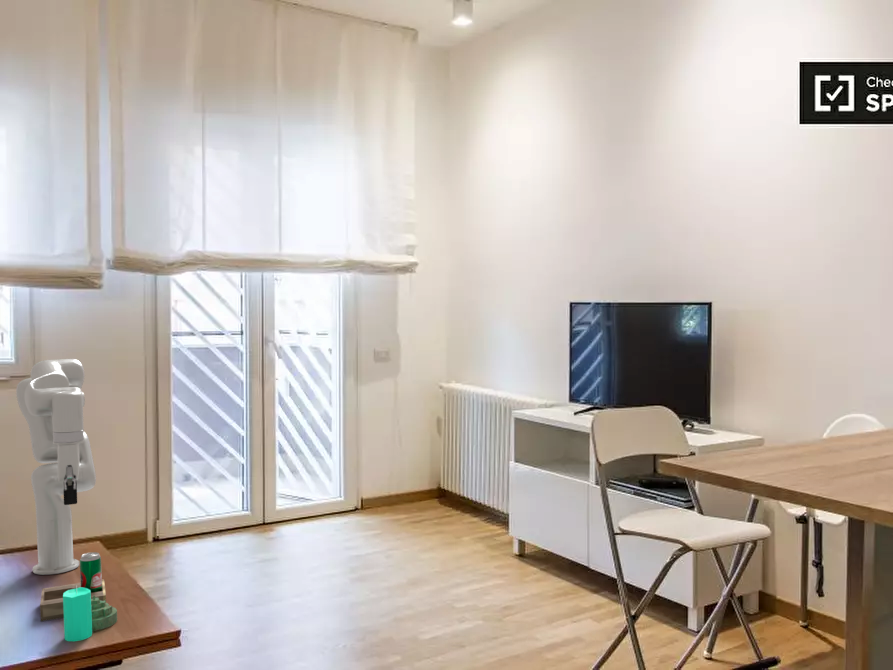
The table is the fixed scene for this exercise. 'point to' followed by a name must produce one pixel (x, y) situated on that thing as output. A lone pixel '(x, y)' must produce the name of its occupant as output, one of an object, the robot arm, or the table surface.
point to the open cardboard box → (60, 600)
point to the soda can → (91, 572)
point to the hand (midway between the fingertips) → (70, 499)
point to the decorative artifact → (102, 614)
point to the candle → (77, 614)
